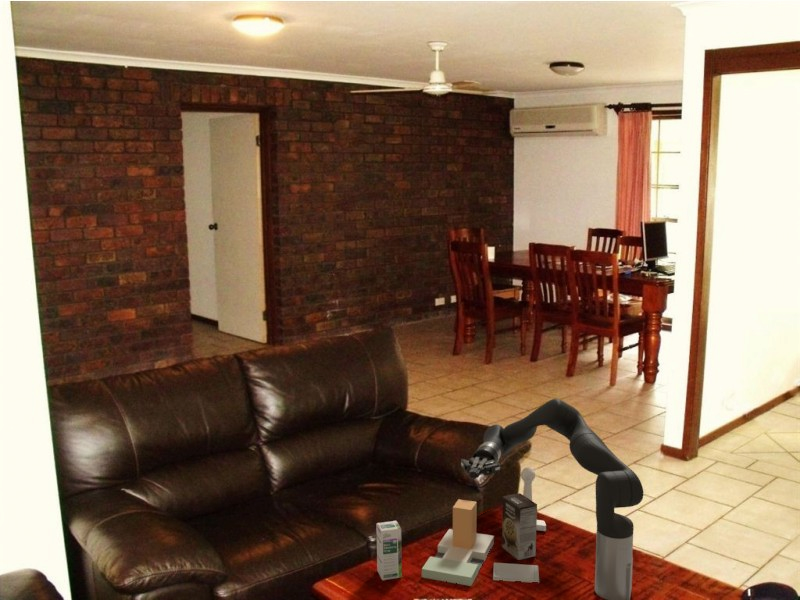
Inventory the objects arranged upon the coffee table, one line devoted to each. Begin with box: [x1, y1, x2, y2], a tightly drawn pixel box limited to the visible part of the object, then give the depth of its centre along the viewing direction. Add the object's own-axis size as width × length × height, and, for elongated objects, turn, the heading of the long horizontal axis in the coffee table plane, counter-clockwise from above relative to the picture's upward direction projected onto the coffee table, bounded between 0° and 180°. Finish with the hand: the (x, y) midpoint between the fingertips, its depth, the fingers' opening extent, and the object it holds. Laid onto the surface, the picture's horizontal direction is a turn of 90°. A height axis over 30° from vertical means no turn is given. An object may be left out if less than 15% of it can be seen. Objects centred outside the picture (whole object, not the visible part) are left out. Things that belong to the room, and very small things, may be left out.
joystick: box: [520, 467, 547, 532], centre depth 239 cm, size 11×8×20 cm
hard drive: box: [492, 562, 540, 584], centre depth 215 cm, size 2×8×12 cm
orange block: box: [452, 498, 478, 549], centre depth 227 cm, size 6×6×12 cm
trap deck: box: [421, 528, 495, 587], centre depth 223 cm, size 14×26×2 cm, turn 160°
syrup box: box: [375, 520, 403, 581], centre depth 214 cm, size 6×6×14 cm
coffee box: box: [501, 492, 538, 561], centre depth 226 cm, size 9×6×16 cm
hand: (473, 475), depth 233 cm, fingers closed
